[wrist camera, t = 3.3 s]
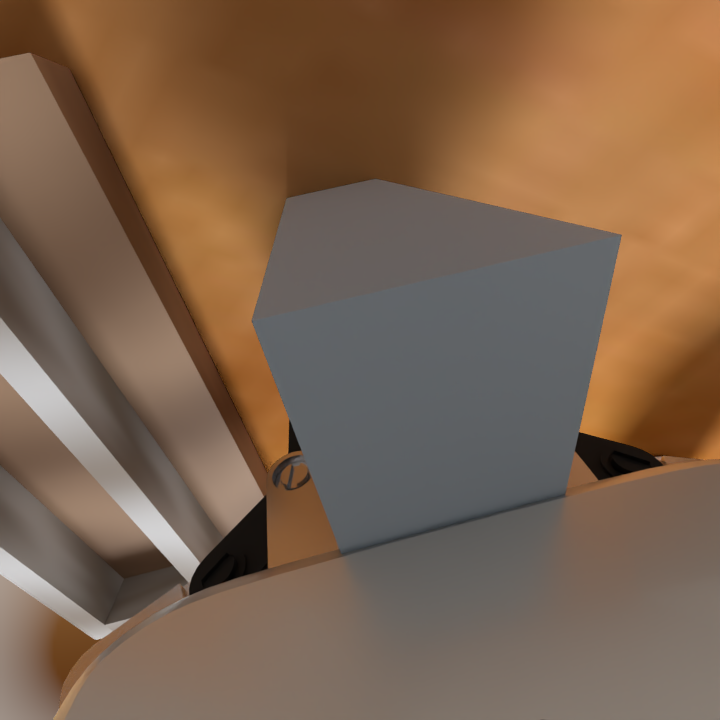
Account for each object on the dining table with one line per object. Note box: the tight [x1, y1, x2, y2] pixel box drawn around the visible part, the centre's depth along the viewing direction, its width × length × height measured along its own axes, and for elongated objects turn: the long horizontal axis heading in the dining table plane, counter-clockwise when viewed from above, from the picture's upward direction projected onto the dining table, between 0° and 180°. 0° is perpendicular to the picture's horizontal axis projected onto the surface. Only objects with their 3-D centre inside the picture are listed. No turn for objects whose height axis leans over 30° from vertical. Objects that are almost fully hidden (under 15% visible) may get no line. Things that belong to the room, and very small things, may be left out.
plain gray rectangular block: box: [252, 179, 622, 554], centre depth 10 cm, size 12×3×10 cm, turn 11°
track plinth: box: [0, 53, 267, 640], centre depth 12 cm, size 20×12×4 cm, turn 11°
